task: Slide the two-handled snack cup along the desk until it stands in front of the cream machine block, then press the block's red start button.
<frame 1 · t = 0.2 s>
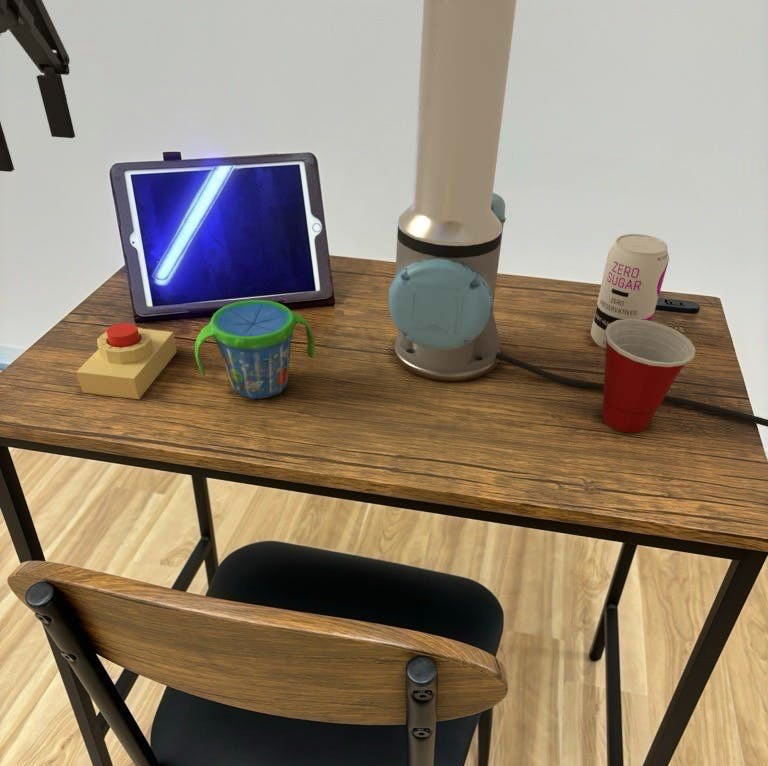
hand: (34, 152, 85), 28 cm above the table, tool pointing down, fingers open, 13 cm apart
snack cup: (259, 387, 100), on the table
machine: (131, 371, 102), on the table
start button: (123, 335, 99), point 5 cm above the table, slide at 0.1 cm
supplement can: (616, 342, 112), on the table
plastic cup: (626, 422, 96), on the table
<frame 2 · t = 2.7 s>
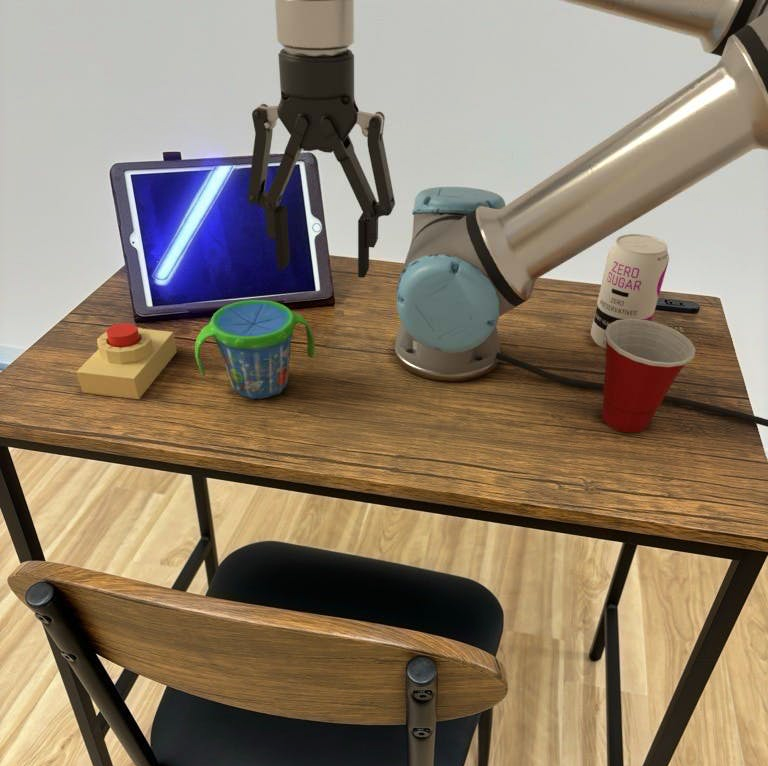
hand: (323, 268, 88), 17 cm above the table, tool pointing down, fingers open, 9 cm apart
nothing on the table moved.
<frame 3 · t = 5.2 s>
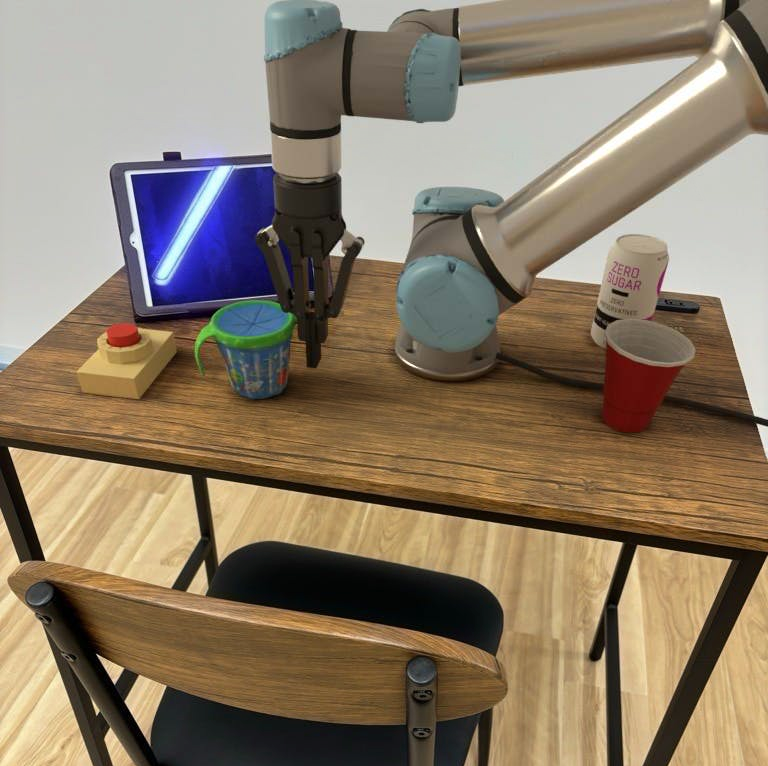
hand: (313, 362, 96), 5 cm above the table, tool pointing down, fingers closed
snack cup: (259, 388, 100), on the table, touching gripper
everything else where it was.
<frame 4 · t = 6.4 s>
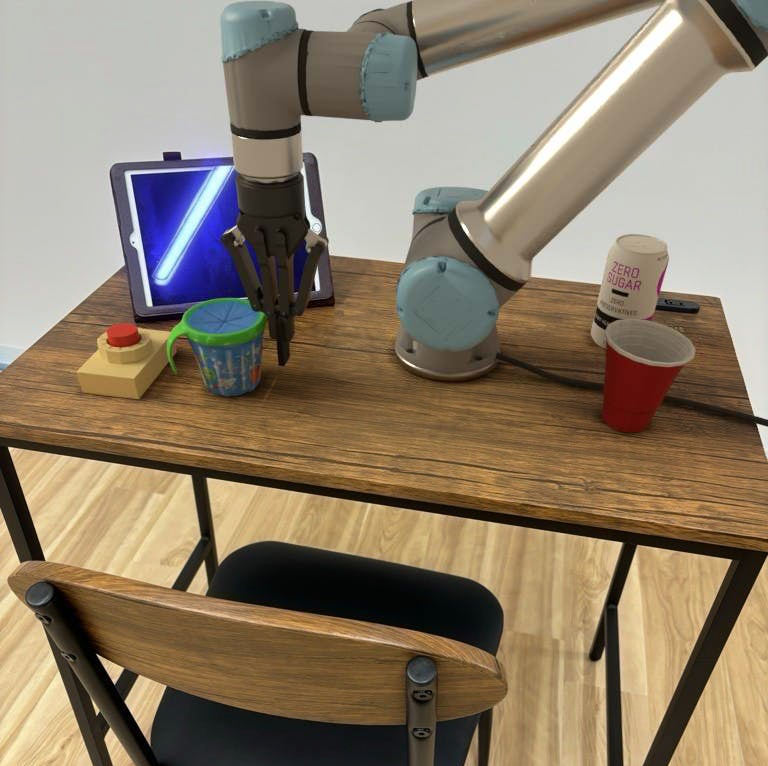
hand: (284, 360, 97), 4 cm above the table, tool pointing down, fingers closed
snack cup: (233, 385, 101), on the table, touching gripper
everything else where it was.
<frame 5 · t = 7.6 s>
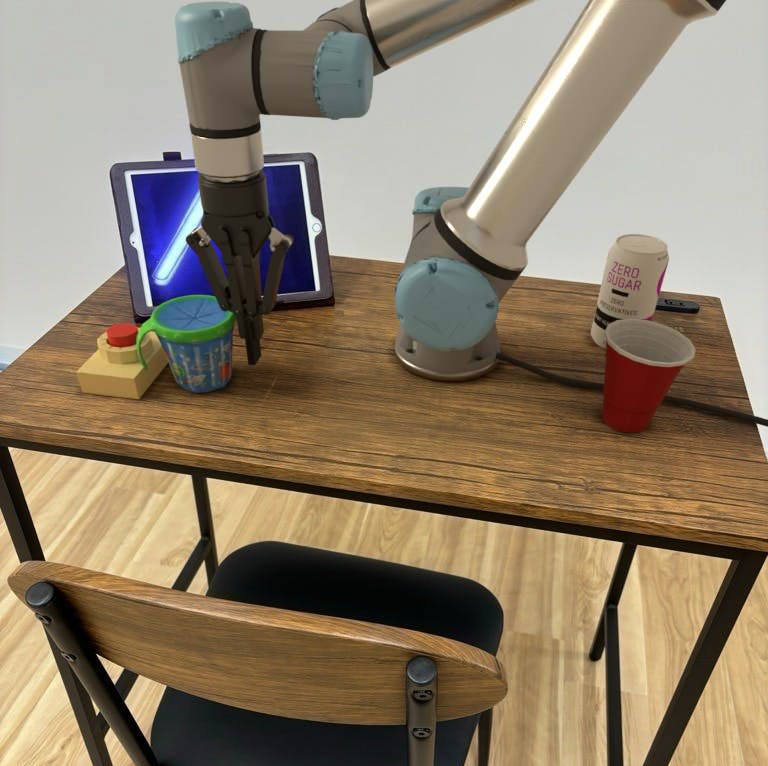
hand: (254, 359, 97), 4 cm above the table, tool pointing down, fingers closed
snack cup: (204, 382, 101), on the table, touching gripper, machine
everything else where it was.
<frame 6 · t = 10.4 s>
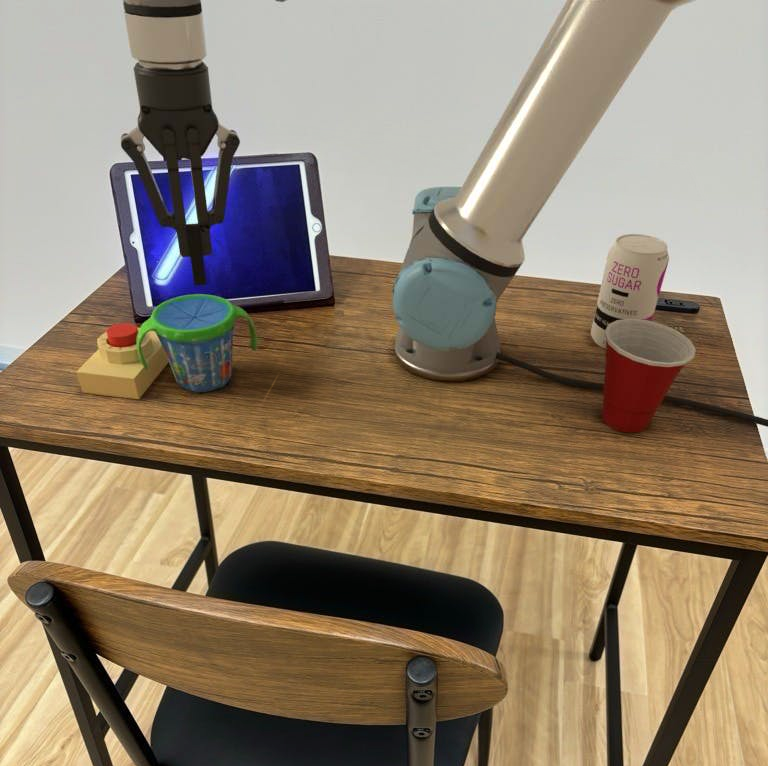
hand: (199, 280, 91), 14 cm above the table, tool pointing down, fingers closed
snack cup: (204, 381, 101), on the table
everything else where it was.
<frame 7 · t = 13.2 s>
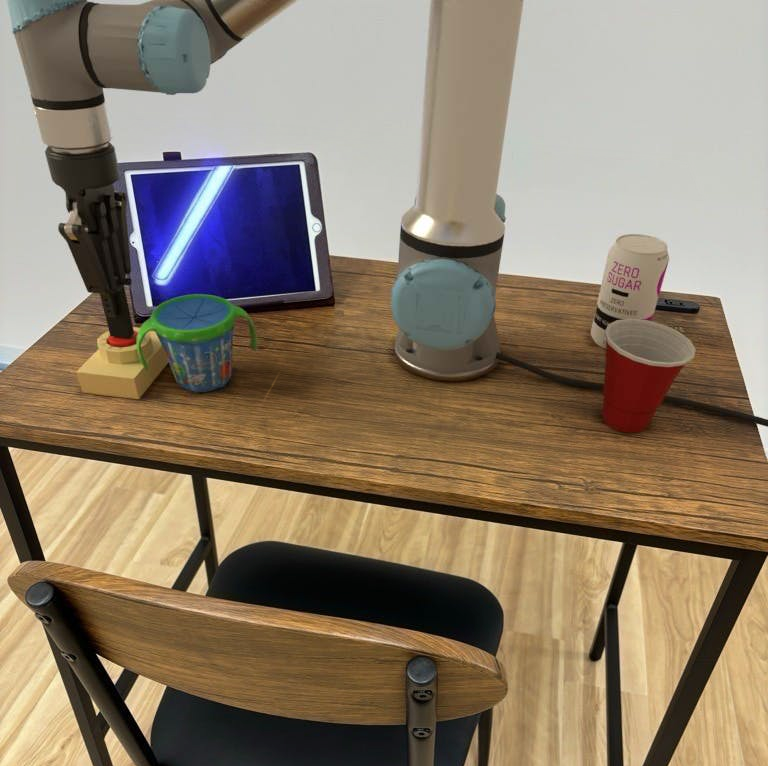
hand: (122, 334, 99), 6 cm above the table, tool pointing down, fingers closed
start button: (124, 342, 99), point 5 cm above the table, slide at -0.8 cm, touching gripper
everything else where it was.
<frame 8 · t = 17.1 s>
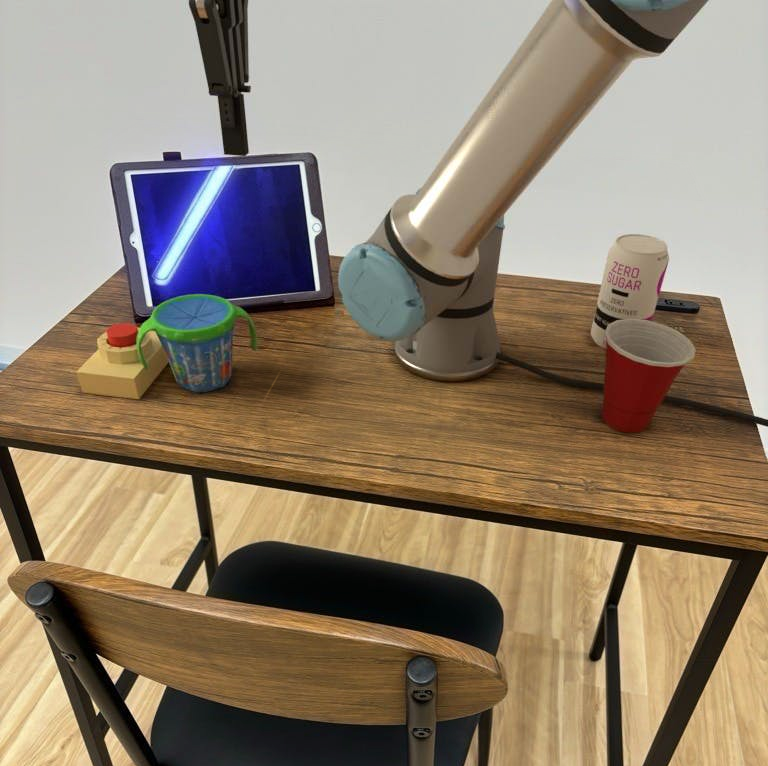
hand: (236, 153, 91), 26 cm above the table, tool pointing down, fingers closed
start button: (123, 335, 99), point 5 cm above the table, slide at 0.1 cm
everything else where it was.
at the end: snack cup 0.2 cm from the target spot on the table beside the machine, on the table; snack cup tilted 0°; start button pushed in 1.0 cm at the most during the clip, back to where it started at the end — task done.
